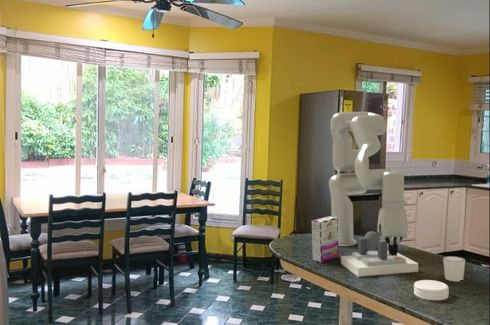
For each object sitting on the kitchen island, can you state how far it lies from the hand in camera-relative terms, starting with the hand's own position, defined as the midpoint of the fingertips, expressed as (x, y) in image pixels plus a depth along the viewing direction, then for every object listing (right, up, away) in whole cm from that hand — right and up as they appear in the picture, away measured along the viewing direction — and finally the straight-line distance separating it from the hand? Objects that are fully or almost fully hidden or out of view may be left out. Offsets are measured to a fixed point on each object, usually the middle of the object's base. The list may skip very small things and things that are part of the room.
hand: (393, 254), depth 169 cm
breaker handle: (-4, -1, -1) cm, 4 cm away
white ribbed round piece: (+4, -8, -25) cm, 27 cm away
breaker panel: (-4, -6, +4) cm, 8 cm away
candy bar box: (-22, -5, +17) cm, 28 cm away
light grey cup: (+17, -6, -11) cm, 21 cm away
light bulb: (-2, -5, +20) cm, 21 cm away
